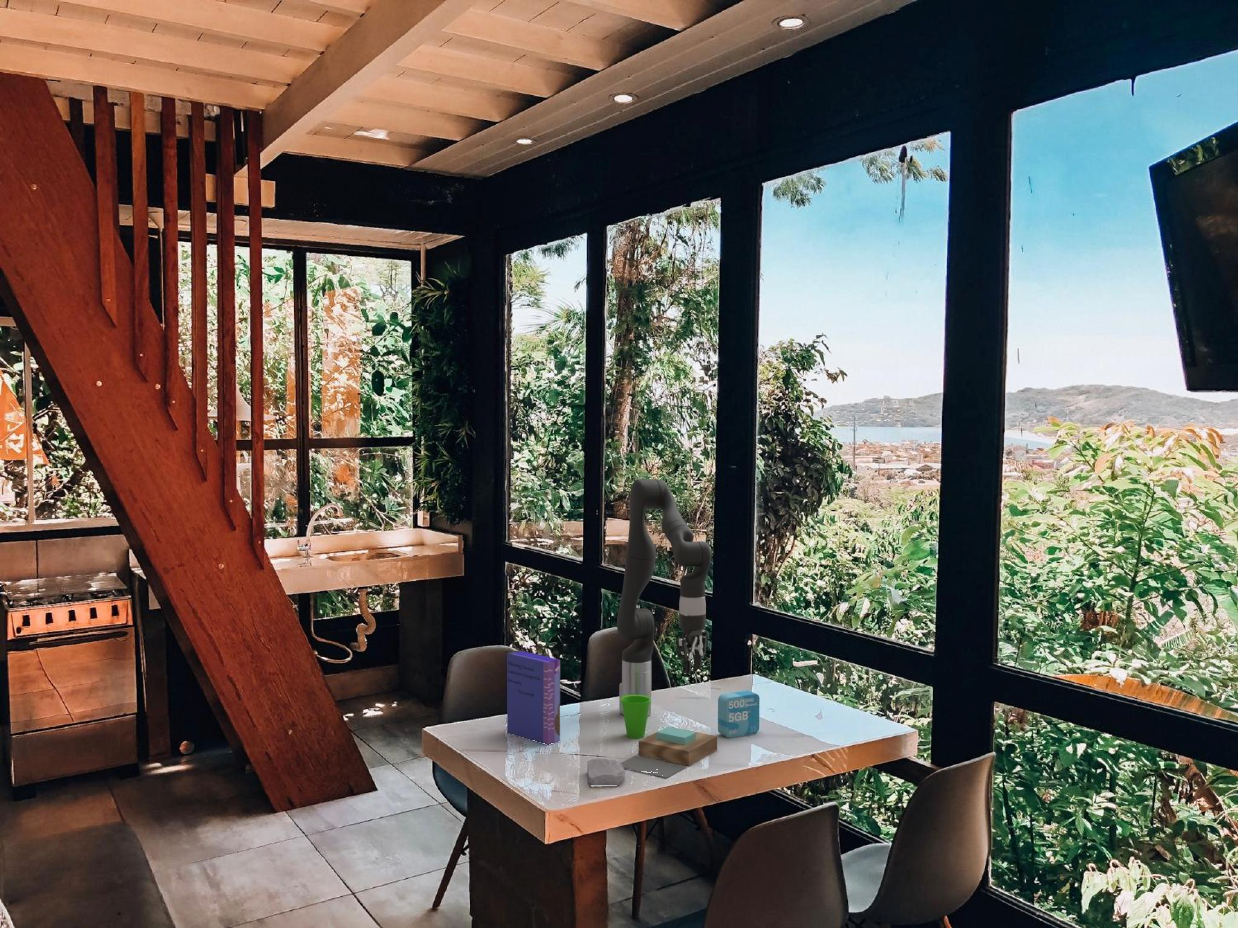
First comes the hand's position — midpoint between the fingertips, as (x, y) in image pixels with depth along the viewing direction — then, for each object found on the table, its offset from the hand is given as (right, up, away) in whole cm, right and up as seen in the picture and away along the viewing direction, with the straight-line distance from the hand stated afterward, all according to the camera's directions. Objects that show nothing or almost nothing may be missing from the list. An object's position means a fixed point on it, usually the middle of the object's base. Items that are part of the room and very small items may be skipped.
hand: (692, 670), depth 281 cm
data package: (+15, -21, +12) cm, 29 cm away
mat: (-12, -22, -17) cm, 31 cm away
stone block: (-24, -23, -26) cm, 42 cm away
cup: (-16, -21, +10) cm, 28 cm away
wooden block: (-4, -22, -5) cm, 23 cm away
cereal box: (-46, -21, +8) cm, 51 cm away
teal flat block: (-5, -18, -6) cm, 19 cm away
